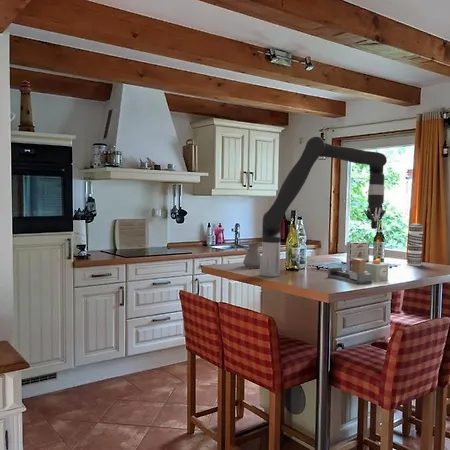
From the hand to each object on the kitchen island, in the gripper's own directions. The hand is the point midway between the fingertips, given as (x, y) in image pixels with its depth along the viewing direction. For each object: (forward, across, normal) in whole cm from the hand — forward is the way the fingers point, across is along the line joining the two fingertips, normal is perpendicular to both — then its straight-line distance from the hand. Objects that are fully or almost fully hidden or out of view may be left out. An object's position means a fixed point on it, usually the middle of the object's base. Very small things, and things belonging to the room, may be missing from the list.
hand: (374, 228), depth 236 cm
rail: (+26, +13, -2) cm, 29 cm away
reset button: (+20, -1, +2) cm, 20 cm away
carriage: (+24, +13, +4) cm, 27 cm away
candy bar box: (+26, -8, -18) cm, 32 cm away
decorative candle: (+25, -61, -25) cm, 70 cm away
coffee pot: (+26, +42, -52) cm, 72 cm away
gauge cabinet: (+25, -1, +2) cm, 25 cm away
